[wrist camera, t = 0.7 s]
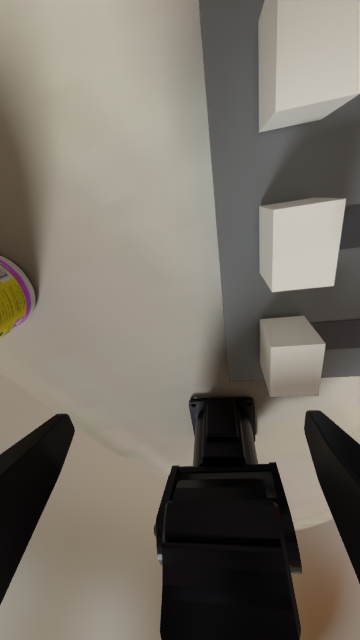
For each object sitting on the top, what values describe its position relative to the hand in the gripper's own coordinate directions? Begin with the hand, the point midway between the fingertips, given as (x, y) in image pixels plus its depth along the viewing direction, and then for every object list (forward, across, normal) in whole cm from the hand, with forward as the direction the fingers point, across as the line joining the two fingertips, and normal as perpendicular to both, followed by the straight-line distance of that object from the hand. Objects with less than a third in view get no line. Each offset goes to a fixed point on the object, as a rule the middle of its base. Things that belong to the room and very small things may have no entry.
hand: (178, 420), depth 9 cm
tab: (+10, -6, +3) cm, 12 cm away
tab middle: (+10, -6, -5) cm, 12 cm away
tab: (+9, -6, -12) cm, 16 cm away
